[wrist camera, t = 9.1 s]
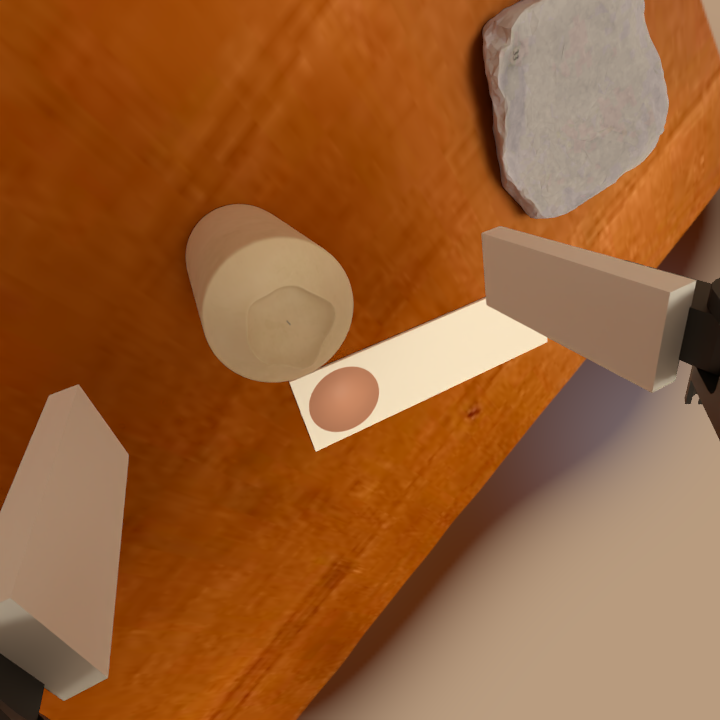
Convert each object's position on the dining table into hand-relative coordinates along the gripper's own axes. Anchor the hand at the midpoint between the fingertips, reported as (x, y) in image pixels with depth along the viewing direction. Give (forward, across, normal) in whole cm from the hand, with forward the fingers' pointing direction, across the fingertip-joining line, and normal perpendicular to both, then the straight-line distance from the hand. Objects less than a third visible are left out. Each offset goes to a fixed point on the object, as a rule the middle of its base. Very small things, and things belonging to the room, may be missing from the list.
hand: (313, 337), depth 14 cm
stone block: (+12, +19, +3) cm, 23 cm away
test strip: (+11, +9, -11) cm, 18 cm away
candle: (+11, -1, 0) cm, 11 cm away
